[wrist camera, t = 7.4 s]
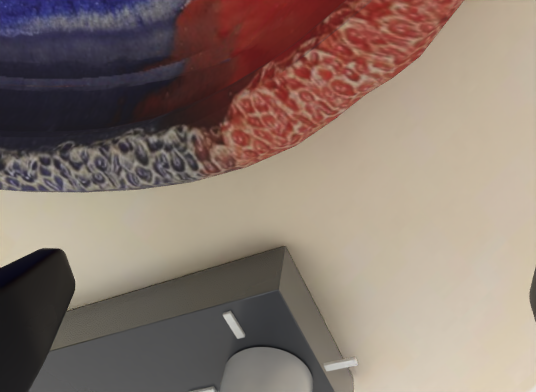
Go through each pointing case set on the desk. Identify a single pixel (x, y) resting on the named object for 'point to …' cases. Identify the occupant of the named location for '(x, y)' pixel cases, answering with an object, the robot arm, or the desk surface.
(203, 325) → the rotary dial box
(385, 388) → the desk surface
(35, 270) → the robot arm
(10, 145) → the dish
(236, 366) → the rotary knob
